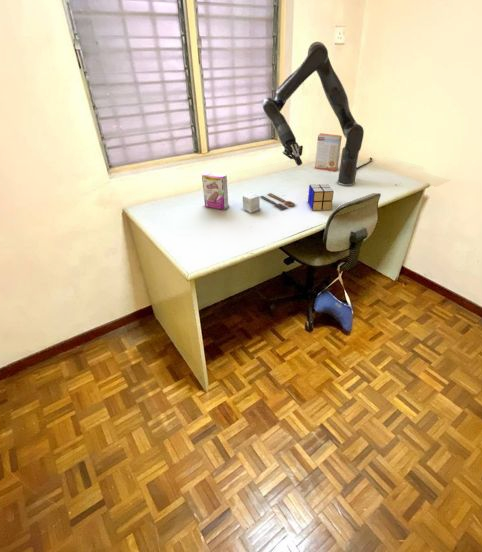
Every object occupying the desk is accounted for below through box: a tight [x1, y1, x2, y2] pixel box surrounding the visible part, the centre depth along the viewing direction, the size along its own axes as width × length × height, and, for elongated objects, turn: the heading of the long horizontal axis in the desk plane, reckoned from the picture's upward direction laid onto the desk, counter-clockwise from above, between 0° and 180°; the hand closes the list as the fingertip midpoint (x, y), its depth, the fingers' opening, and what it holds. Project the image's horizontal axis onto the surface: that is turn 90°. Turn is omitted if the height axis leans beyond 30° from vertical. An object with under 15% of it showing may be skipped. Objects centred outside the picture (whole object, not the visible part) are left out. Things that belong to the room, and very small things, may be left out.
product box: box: [242, 192, 261, 214], centre depth 163 cm, size 6×6×7 cm
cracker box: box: [314, 133, 343, 172], centre depth 211 cm, size 14×6×21 cm, turn 66°
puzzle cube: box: [307, 183, 334, 211], centre depth 167 cm, size 10×10×10 cm
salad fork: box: [260, 195, 288, 211], centre depth 172 cm, size 4×19×1 cm, turn 39°
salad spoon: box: [267, 193, 295, 208], centre depth 175 cm, size 4×19×1 cm, turn 39°
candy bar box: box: [201, 171, 229, 211], centre depth 162 cm, size 11×5×16 cm, turn 71°
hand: (300, 164), depth 171 cm, fingers closed
